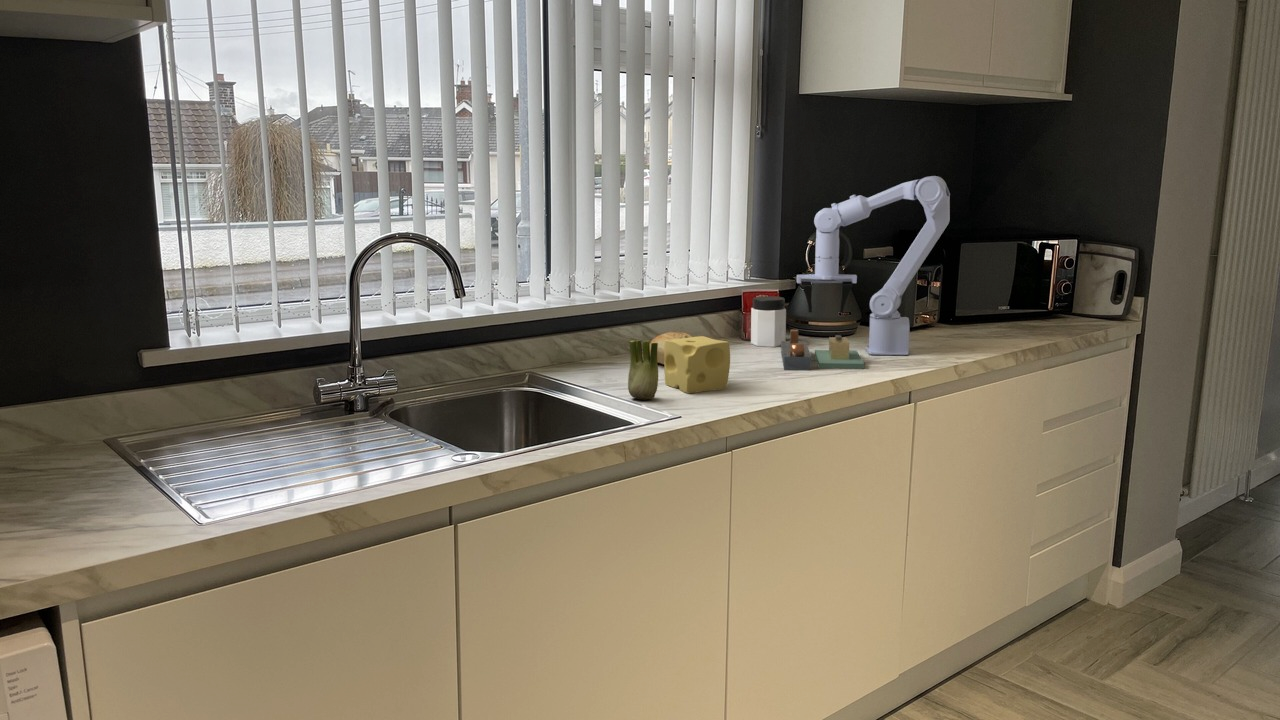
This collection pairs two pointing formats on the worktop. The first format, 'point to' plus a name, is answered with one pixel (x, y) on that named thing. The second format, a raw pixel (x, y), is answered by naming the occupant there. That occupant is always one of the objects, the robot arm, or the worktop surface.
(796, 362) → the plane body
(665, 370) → the cheese
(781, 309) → the jar
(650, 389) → the fennel bulb
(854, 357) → the mat
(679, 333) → the bread roll
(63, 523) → the worktop surface
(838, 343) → the tan block
